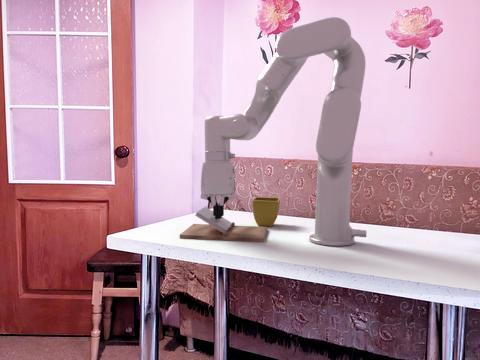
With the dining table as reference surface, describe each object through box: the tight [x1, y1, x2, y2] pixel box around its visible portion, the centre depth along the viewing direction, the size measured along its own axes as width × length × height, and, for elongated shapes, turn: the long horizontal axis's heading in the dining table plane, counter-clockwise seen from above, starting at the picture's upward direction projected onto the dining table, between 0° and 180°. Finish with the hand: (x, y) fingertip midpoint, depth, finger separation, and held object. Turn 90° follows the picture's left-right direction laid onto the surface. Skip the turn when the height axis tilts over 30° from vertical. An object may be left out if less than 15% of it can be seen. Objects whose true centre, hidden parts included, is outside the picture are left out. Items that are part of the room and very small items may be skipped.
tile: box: [194, 206, 232, 233], centre depth 132 cm, size 10×12×1 cm
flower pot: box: [251, 196, 281, 227], centre depth 148 cm, size 9×9×9 cm
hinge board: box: [179, 221, 268, 243], centre depth 132 cm, size 24×18×2 cm
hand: (218, 218), depth 132 cm, fingers closed
